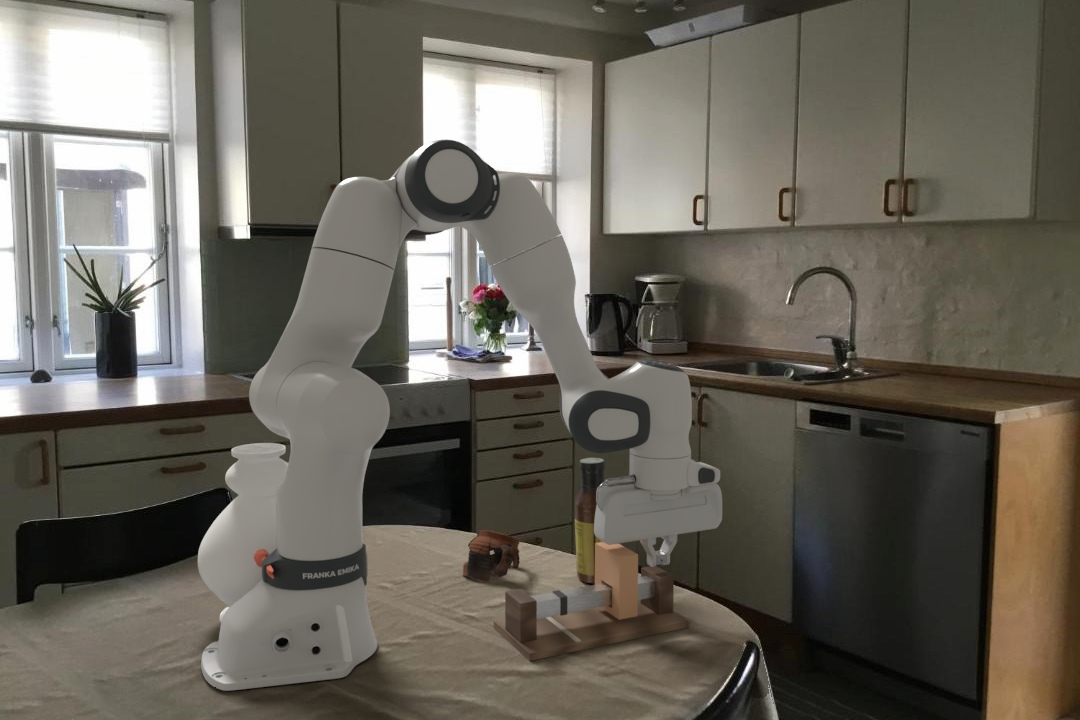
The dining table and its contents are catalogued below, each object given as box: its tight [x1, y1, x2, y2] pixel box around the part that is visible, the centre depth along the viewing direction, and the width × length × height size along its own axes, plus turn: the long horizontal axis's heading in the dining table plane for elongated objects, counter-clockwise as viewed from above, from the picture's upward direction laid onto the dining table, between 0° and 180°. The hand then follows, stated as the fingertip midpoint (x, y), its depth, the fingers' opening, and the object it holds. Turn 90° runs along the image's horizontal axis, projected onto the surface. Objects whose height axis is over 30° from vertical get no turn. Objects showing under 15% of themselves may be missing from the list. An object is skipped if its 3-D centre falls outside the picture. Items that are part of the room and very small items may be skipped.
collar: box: [594, 542, 639, 620], centre depth 133 cm, size 3×7×9 cm, turn 26°
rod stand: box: [493, 565, 690, 662], centre depth 132 cm, size 25×12×6 cm, turn 116°
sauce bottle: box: [574, 457, 606, 585], centre depth 151 cm, size 7×6×20 cm
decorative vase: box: [197, 442, 289, 624], centre depth 135 cm, size 18×18×25 cm
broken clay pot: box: [462, 529, 520, 583], centre depth 154 cm, size 12×10×8 cm
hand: (658, 564), depth 136 cm, fingers closed
